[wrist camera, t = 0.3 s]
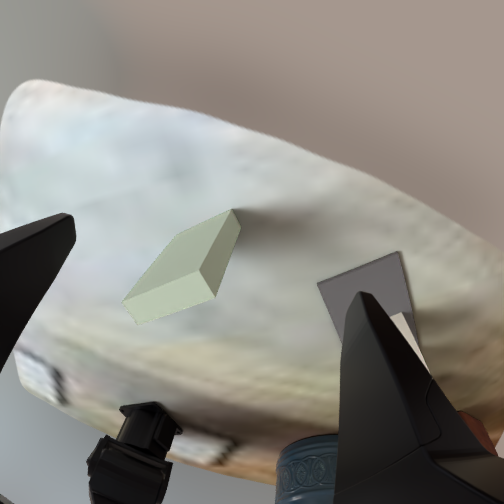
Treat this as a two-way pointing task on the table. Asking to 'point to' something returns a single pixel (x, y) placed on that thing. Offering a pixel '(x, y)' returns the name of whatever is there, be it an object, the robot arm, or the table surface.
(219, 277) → the domino
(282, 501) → the canister
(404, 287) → the mat
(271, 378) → the table surface
